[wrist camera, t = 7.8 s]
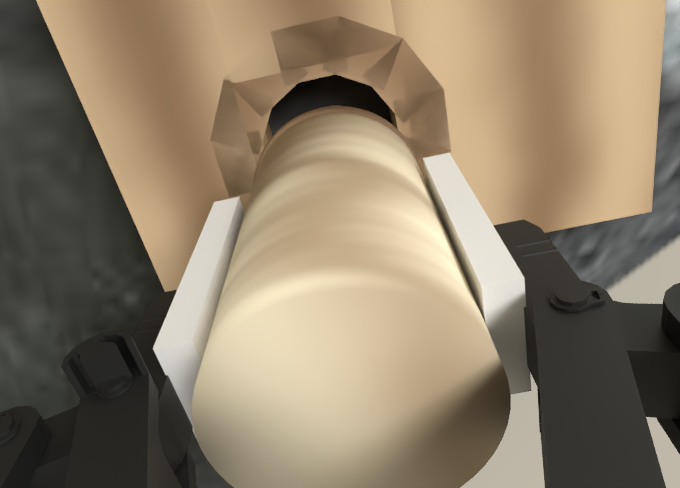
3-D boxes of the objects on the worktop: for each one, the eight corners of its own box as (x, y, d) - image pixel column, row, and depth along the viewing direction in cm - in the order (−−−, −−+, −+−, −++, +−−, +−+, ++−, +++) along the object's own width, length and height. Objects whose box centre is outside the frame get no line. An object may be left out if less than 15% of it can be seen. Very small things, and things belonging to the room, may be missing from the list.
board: (185, 272, 28) (171, 306, 26) (40, -80, 21) (-1, -83, 18) (619, 185, 27) (651, 211, 24) (634, -233, 19) (683, -260, 16)
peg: (284, 235, 22) (243, 542, 11) (244, 102, 20) (136, 324, 8) (418, 208, 22) (522, 498, 10) (396, 69, 19) (501, 253, 8)
